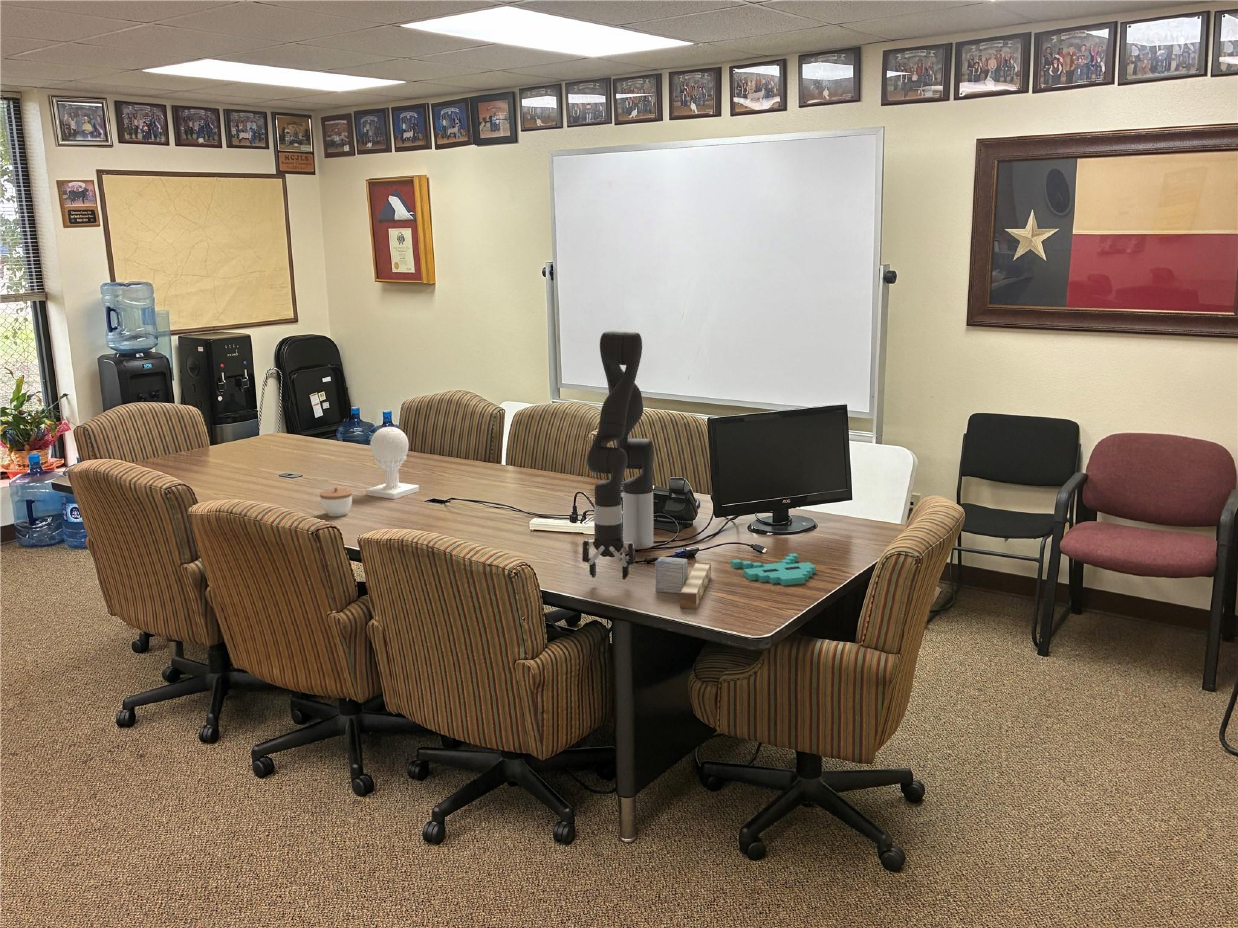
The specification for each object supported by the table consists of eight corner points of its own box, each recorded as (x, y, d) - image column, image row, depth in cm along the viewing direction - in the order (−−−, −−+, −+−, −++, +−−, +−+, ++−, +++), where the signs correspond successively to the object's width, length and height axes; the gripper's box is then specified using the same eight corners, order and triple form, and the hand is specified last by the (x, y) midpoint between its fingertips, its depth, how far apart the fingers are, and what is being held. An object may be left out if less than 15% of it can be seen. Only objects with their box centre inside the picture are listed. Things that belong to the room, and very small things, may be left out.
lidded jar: (315, 517, 356) (313, 490, 354) (331, 509, 366) (329, 483, 364) (344, 519, 353) (342, 492, 351) (359, 511, 364) (357, 484, 361)
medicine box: (688, 589, 281) (688, 558, 279) (683, 594, 276) (683, 563, 275) (660, 586, 283) (659, 556, 281) (655, 592, 279) (655, 561, 277)
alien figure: (731, 567, 300) (759, 589, 281) (731, 560, 299) (759, 581, 281) (794, 560, 305) (826, 581, 286) (795, 553, 305) (827, 574, 286)
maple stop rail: (696, 576, 291) (696, 562, 290) (710, 576, 290) (710, 562, 289) (680, 607, 267) (680, 592, 266) (696, 609, 266) (696, 593, 265)
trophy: (365, 494, 386) (361, 428, 380) (390, 486, 397) (387, 422, 392) (394, 499, 379) (390, 432, 373) (419, 491, 391) (416, 425, 385)
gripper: (637, 517, 282) (637, 574, 285) (586, 515, 285) (587, 571, 289) (631, 525, 275) (631, 583, 278) (578, 522, 278) (580, 580, 282)
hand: (609, 577), depth 283 cm, fingers open, 8 cm apart
